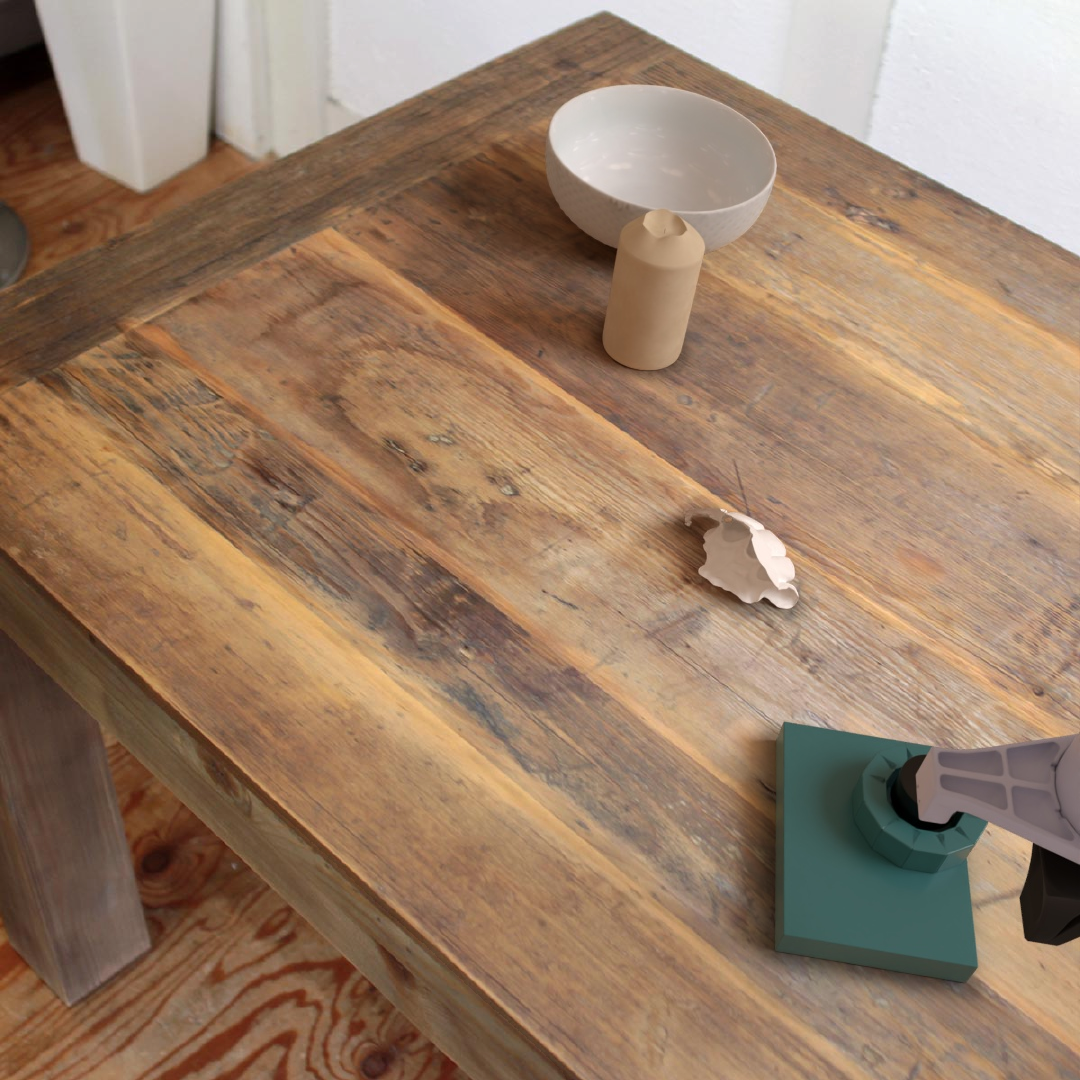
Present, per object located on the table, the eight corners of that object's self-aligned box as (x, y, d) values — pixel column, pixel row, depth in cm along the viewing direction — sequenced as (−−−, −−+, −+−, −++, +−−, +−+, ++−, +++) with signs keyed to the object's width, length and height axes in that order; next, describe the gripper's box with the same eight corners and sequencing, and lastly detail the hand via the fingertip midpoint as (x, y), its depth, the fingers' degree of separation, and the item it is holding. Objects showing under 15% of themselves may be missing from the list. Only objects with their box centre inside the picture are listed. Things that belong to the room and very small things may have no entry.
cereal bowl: (491, 214, 100) (498, 130, 95) (630, 141, 110) (644, 60, 104) (666, 323, 94) (684, 238, 88) (798, 235, 103) (822, 154, 98)
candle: (694, 364, 91) (724, 240, 83) (621, 377, 89) (645, 253, 82) (660, 314, 94) (686, 192, 87) (589, 327, 92) (609, 202, 85)
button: (958, 835, 64) (970, 816, 63) (891, 824, 64) (902, 805, 63) (952, 779, 66) (964, 759, 65) (888, 768, 66) (898, 748, 65)
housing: (977, 985, 62) (1005, 951, 59) (774, 951, 62) (793, 915, 60) (955, 769, 70) (978, 731, 68) (776, 739, 70) (792, 700, 68)
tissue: (753, 510, 82) (767, 465, 79) (804, 609, 77) (821, 565, 74) (668, 521, 80) (680, 476, 78) (715, 623, 75) (729, 579, 72)
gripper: (1377, 671, 47) (1196, 861, 57) (964, 604, 47) (858, 806, 57) (1443, 850, 42) (1233, 1023, 52) (984, 775, 42) (864, 962, 52)
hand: (1038, 920), depth 54 cm, fingers closed
